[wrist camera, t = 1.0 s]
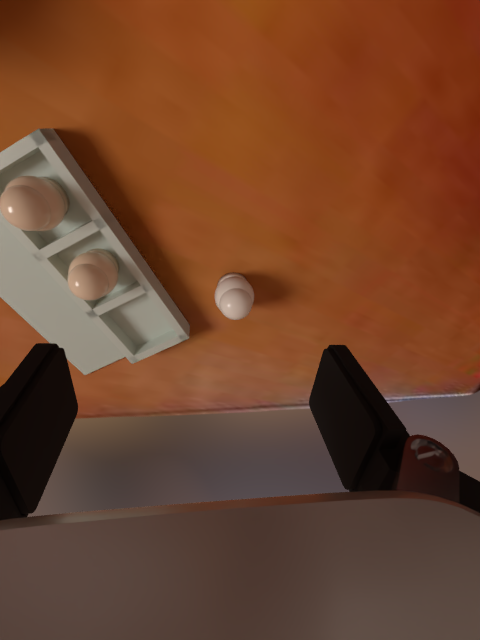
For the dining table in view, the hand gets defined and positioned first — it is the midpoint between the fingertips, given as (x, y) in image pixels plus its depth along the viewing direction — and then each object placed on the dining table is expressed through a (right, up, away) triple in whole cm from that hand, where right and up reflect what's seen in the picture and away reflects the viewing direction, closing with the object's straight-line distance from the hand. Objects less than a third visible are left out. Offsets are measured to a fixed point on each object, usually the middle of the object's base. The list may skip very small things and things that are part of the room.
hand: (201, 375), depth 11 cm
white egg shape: (+1, +6, +27) cm, 28 cm away
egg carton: (-18, +7, +25) cm, 32 cm away
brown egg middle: (-14, +8, +23) cm, 28 cm away
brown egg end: (-18, +14, +19) cm, 30 cm away
